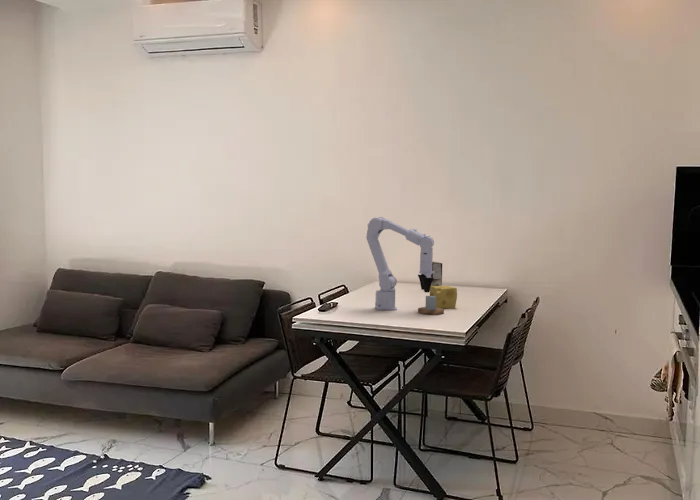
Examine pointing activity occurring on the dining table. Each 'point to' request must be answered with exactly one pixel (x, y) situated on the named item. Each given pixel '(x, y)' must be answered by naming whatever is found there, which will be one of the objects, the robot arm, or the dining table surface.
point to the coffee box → (436, 274)
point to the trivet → (430, 311)
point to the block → (430, 303)
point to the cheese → (444, 296)
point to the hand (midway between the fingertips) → (425, 290)
